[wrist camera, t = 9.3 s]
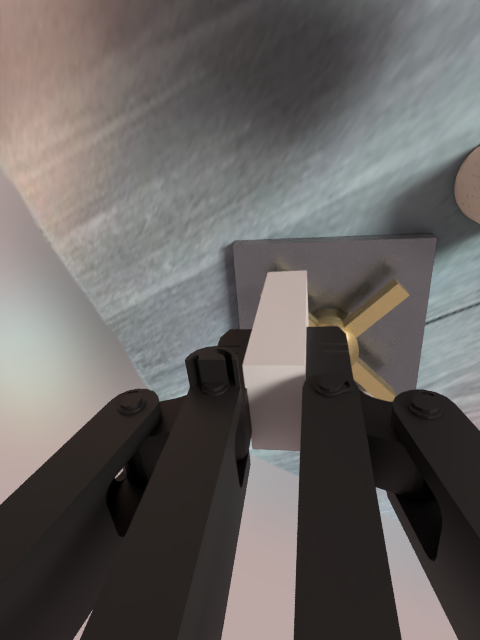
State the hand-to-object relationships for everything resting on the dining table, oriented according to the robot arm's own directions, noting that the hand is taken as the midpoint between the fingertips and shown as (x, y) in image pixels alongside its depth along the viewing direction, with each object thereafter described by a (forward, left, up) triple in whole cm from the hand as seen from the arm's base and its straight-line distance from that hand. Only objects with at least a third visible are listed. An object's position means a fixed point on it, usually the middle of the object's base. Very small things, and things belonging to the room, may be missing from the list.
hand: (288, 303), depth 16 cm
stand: (+17, +3, -32) cm, 36 cm away
